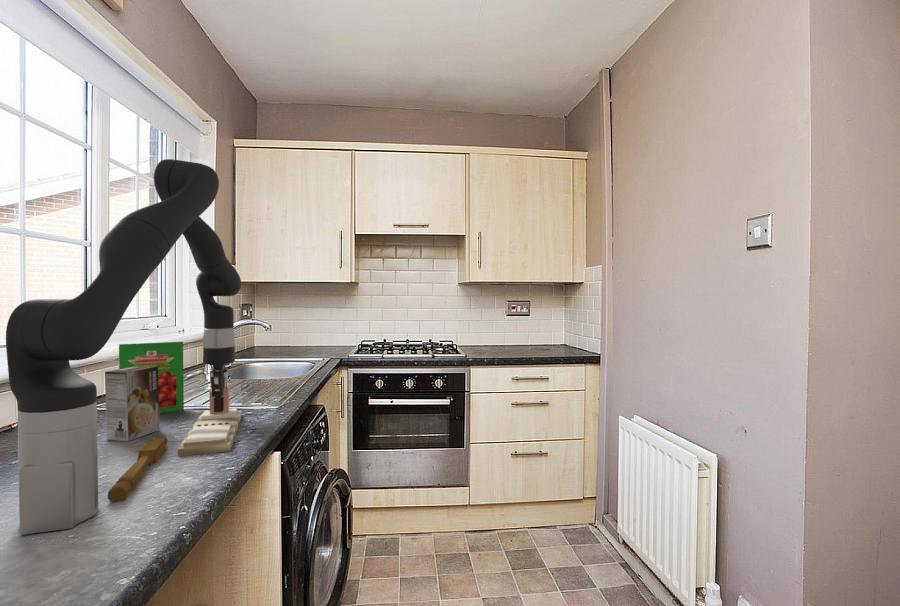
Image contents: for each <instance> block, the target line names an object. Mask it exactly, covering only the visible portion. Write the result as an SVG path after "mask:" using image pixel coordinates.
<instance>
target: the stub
mask: <svg viewBox="0 0 900 606" xmlns="http://www.w3.org/2000/svg"><path fill="white" fill-rule="evenodd" d="M216 392H220V389H217V390H216ZM237 411H238V407H237V408H235V407H233V408H230V387H227V388H224V410H223V411H222V412H214V398H213V397H212V388H211V389H210V390H209V410H204V411H203V412H202V413H201V414H202V415H201V414H200V415H201V420H208V419H220V418H233V417H236V414H237Z"/></svg>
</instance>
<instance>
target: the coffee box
mask: <svg viewBox="0 0 900 606" xmlns="http://www.w3.org/2000/svg"><path fill="white" fill-rule="evenodd" d="M104 379H105V381H104V384H105V388H104V389H105V419H106V420H105V423H106V424H105V426H106V429H105V430H106V440H107V441H108V440H109V441H121V442H130V441H133V440H136V439H138V438H141V437H144V436H147V435H150V434H151V433H152V434H153V433H155V432H158V431H160V428H161V427H160V413H159V384H158V366H134V367H128V368H123V369H119V368H117V369H113V370H107V371H104Z"/></svg>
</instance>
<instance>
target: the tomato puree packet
mask: <svg viewBox="0 0 900 606" xmlns="http://www.w3.org/2000/svg"><path fill="white" fill-rule="evenodd" d="M134 366H158V384H159V414H160V413H169V412H177V411H184V410H185V408H184V407H185V403H184V402H185V401H184V397H185V396H184V395H185V394H184V393H185V391H184V389H185V388H184V383H185V382H184V341H167V342H165V341H164V342H163V341H162V342H145V343H141V342H140V343H120V344H119V345H118V369H123V368H128V367H134Z"/></svg>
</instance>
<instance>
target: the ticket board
mask: <svg viewBox="0 0 900 606" xmlns="http://www.w3.org/2000/svg"><path fill="white" fill-rule="evenodd" d="M202 414H203V413H201V414H200V415H199V416H198V418H197V419H196V421H195V423H193V425H192V426H191V428H190V430H189V431H188V433H187V434H186V436H185V437H184V439H183V440H182V442H181V443H180V445H178V448H177V457H181V456H183V457H184V456H193V455H203V454H212V453H221V452H230V451H231V448H232V446H233V443H234V440H235V437H236V434H237V431H238V428H239V424H240V422H241V420H242V416H243V415H242V410H239V411H238V410H237V414H236V417H233V418H220V419H208V420H201V415H202Z"/></svg>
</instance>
